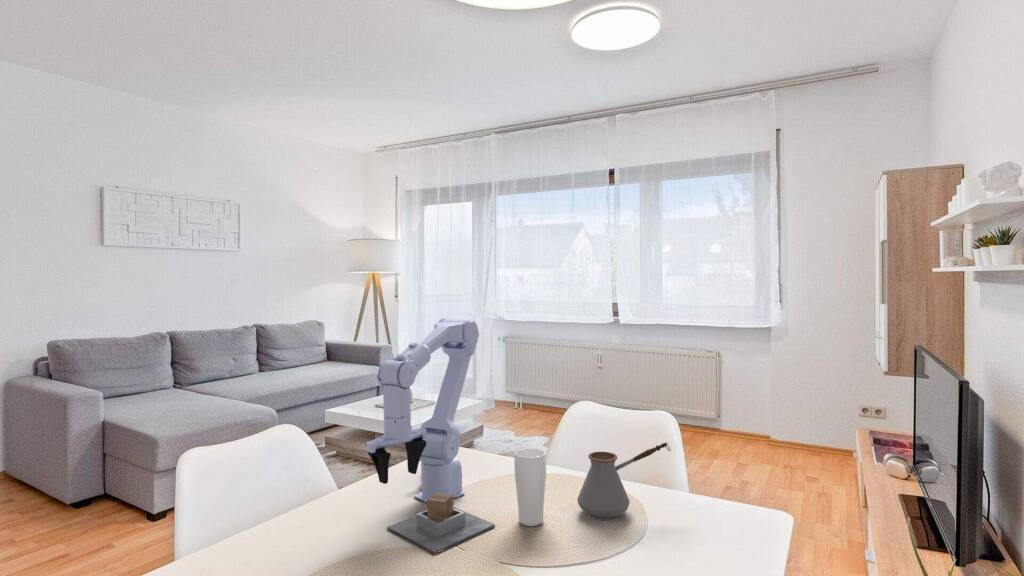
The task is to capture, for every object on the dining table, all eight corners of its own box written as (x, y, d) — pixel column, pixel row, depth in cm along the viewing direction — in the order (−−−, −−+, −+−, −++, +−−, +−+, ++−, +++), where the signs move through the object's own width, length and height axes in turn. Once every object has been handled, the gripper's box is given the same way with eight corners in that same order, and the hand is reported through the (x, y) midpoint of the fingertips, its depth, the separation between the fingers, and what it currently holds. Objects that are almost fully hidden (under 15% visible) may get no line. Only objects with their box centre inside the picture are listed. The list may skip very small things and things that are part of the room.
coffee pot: (585, 526, 117) (584, 455, 117) (572, 504, 128) (571, 440, 128) (681, 519, 120) (680, 450, 120) (660, 498, 131) (659, 435, 131)
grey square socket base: (446, 506, 128) (446, 492, 128) (494, 527, 117) (494, 512, 117) (387, 529, 117) (387, 514, 117) (434, 554, 106) (434, 538, 106)
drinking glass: (551, 518, 121) (550, 450, 121) (539, 531, 115) (538, 459, 115) (523, 513, 124) (522, 446, 124) (510, 525, 118) (509, 455, 118)
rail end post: (436, 520, 120) (436, 492, 119) (453, 522, 118) (453, 494, 118) (427, 528, 116) (427, 499, 116) (445, 530, 114) (444, 502, 114)
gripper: (412, 406, 129) (413, 465, 129) (357, 419, 118) (358, 482, 118) (432, 411, 124) (433, 471, 124) (376, 424, 113) (377, 490, 114)
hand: (398, 477), depth 121 cm, fingers open, 7 cm apart
